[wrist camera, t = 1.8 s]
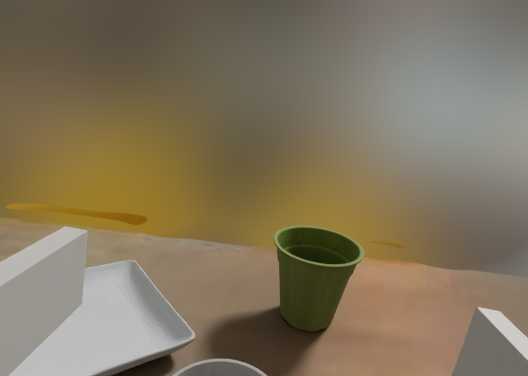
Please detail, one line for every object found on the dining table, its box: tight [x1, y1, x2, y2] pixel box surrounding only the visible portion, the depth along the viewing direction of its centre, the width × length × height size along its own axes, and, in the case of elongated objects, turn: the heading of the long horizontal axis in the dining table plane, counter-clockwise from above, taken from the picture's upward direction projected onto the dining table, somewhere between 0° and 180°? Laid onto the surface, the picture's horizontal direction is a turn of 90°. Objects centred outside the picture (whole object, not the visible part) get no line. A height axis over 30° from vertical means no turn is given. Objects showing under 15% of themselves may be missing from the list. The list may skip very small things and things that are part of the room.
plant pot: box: [273, 226, 364, 332], centre depth 49 cm, size 12×12×11 cm
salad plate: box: [9, 260, 195, 376], centre depth 42 cm, size 21×21×3 cm
